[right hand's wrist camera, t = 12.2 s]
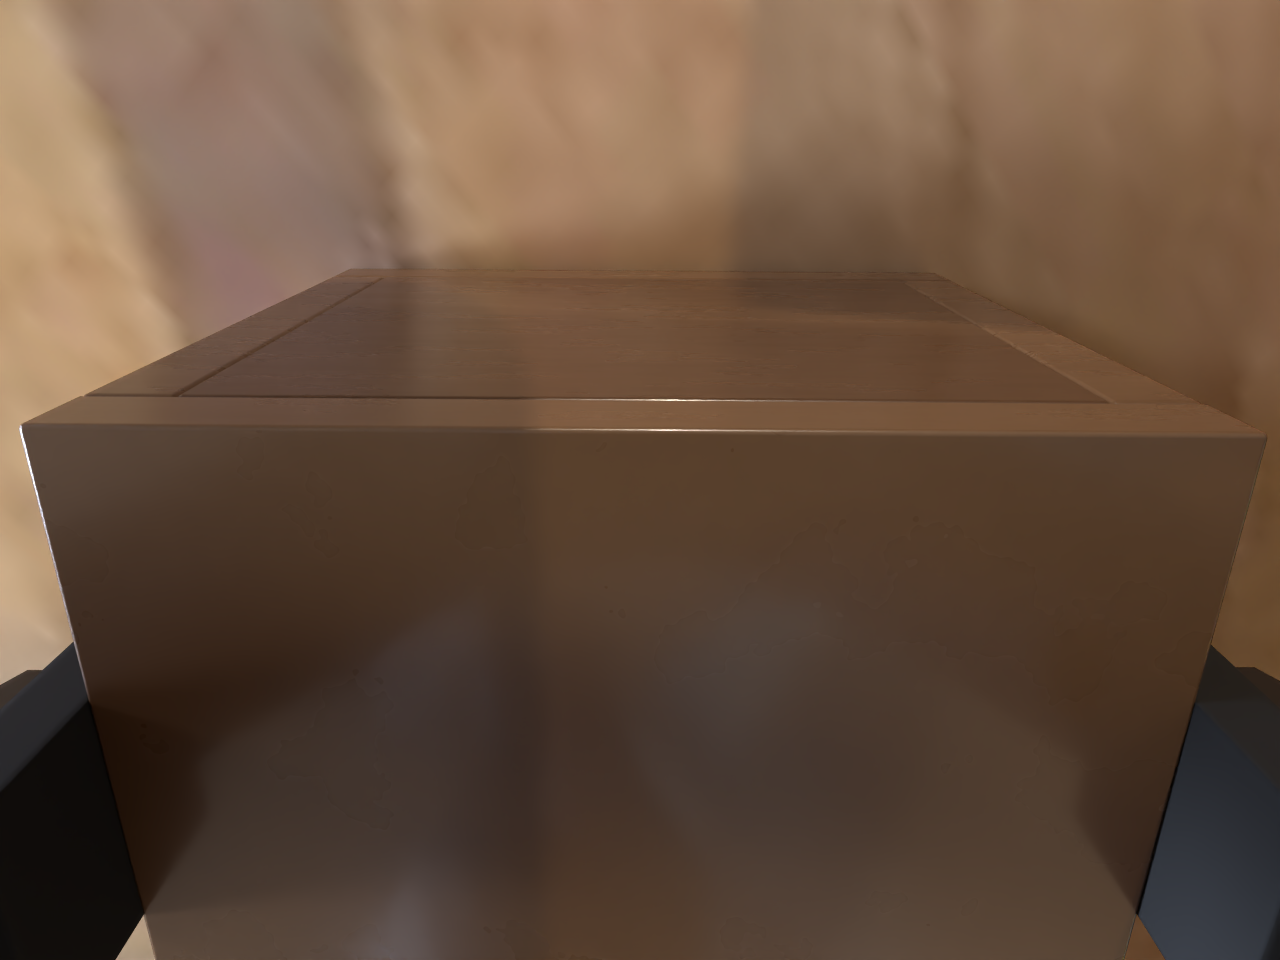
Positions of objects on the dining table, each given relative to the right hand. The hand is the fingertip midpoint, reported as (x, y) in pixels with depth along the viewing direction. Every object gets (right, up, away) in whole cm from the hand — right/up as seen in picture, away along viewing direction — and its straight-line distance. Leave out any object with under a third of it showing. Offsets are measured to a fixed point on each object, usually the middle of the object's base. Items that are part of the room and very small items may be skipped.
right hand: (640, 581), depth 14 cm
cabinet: (0, -5, +6) cm, 8 cm away
